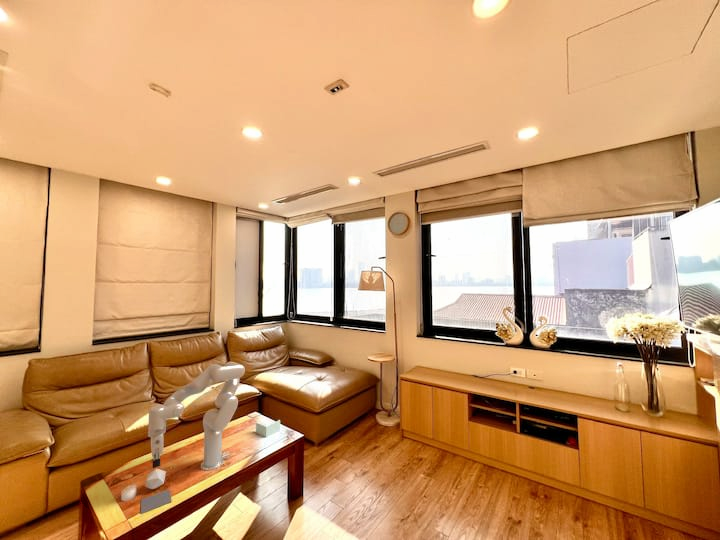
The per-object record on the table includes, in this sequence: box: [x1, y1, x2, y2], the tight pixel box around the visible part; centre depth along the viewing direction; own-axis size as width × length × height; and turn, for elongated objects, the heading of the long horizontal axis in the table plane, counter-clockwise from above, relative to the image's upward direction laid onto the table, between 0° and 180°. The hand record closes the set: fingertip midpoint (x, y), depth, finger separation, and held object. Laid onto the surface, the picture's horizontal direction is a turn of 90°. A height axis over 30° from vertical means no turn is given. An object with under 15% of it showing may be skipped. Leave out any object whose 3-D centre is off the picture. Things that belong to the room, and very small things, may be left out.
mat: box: [140, 488, 172, 515], centre depth 141 cm, size 12×11×1 cm
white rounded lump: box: [120, 484, 137, 502], centre depth 144 cm, size 6×6×4 cm
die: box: [144, 468, 167, 490], centre depth 150 cm, size 8×9×10 cm
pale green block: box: [255, 419, 281, 438], centre depth 207 cm, size 12×12×8 cm
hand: (156, 466), depth 148 cm, fingers closed
